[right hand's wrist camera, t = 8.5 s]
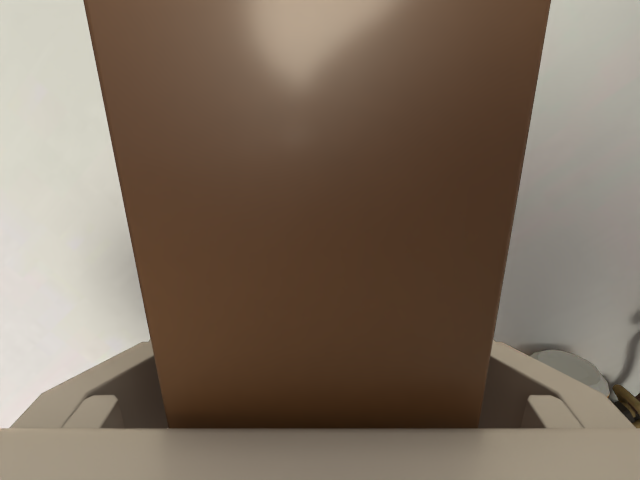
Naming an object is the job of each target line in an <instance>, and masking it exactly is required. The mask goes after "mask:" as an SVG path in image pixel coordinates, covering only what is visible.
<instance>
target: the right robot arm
mask: <svg viewBox="0 0 640 480" xmlns="http://www.w3.org/2000/svg"><path fill="white" fill-rule="evenodd" d="M0 480H640V428H636V427H635V426H634V425H633V424H632V423H631V422H630V421H629V420H628V419H627V418H626V417H625V416H624V415H623V414H622V413H621V412H620V410H619V409H618V408H617V407H616V406H615V405H614V404H613V403H612V402H611V401H610V400H609V399H608V398H607V397H606V396H605V395H604V394H603V393H601V392H599V391H597V390H595V389H593V388H591V387H589V386H587V385H585V384H583V383H581V382H579V381H577V380H575V379H573V378H571V377H569V376H568V375H566V374H564V373H562V372H560V371H558V370H556V369H554V368H552V367H550V366H548V365H546V364H544V363H542V362H540V361H538V360H536V359H534V358H532V357H530V356H528V355H526V354H524V353H522V352H520V351H518V350H516V349H514V348H513V347H511V346H509V345H507V344H505V343H503V342H495V340H494V339H493V343H492V349H491V355H490V360H489V366H488V372H487V378H486V384H485V390H484V396H483V402H482V407H481V413H480V419H479V425H478V428H168V424H167V419H166V414H165V409H164V404H163V399H162V393H161V388H160V383H159V378H158V373H157V368H156V363H155V358H154V353H153V348H152V343H151V339H150V340H149V342H141V343H139V344H137V345H135V346H133V347H132V348H130V349H128V350H126V351H124V352H122V353H120V354H118V355H116V356H114V357H112V358H110V359H108V360H106V361H104V362H102V363H100V364H98V365H96V366H94V367H92V368H91V369H89V370H87V371H85V372H83V373H81V374H79V375H77V376H75V377H73V378H71V379H69V380H67V381H65V382H63V383H61V384H59V385H57V386H55V387H53V388H51V389H50V390H48V391H46V392H44V393H42V394H41V395H40V396H39V397H38V398H37V399H36V400H35V401H34V402H33V403H32V404H31V405H30V407H29V408H28V409H27V410H26V411H25V412H24V413H23V414H22V415H21V416H20V417H19V418H18V419H17V420H16V422H15V423H14V424H13V425H12V426H11V427H10V428H0Z"/></svg>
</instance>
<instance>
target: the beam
mask: <svg viewBox="0 0 640 480" xmlns="http://www.w3.org/2000/svg"><path fill="white" fill-rule="evenodd" d="M550 3H551V0H84V5H85V10H86V15H87V20H88V26H89V31H90V36H91V41H92V46H93V51H94V56H95V61H96V66H97V71H98V76H99V81H100V86H101V91H102V96H103V101H104V106H105V111H106V116H107V121H108V126H109V131H110V136H111V141H112V146H113V152H114V157H115V162H116V167H117V172H118V177H119V182H120V187H121V192H122V197H123V202H124V207H125V212H126V217H127V222H128V227H129V232H130V237H131V242H132V247H133V252H134V257H135V262H136V267H137V272H138V278H139V283H140V288H141V293H142V298H143V303H144V308H145V313H146V318H147V323H148V328H149V333H150V338H151V343H152V348H153V353H154V358H155V363H156V368H157V373H158V378H159V383H160V388H161V393H162V399H163V404H164V409H165V414H166V419H167V424H168V428H478V425H479V419H480V413H481V407H482V402H483V396H484V390H485V384H486V378H487V372H488V366H489V360H490V355H491V349H492V343H493V337H494V331H495V325H496V319H497V314H498V308H499V302H500V296H501V290H502V284H503V278H504V273H505V267H506V261H507V255H508V249H509V243H510V237H511V231H512V226H513V220H514V214H515V208H516V202H517V196H518V190H519V185H520V179H521V173H522V167H523V161H524V155H525V149H526V144H527V138H528V132H529V126H530V120H531V114H532V108H533V102H534V97H535V91H536V85H537V79H538V73H539V67H540V61H541V56H542V50H543V44H544V38H545V32H546V26H547V20H548V15H549V9H550Z"/></svg>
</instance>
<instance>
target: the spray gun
mask: <svg viewBox="0 0 640 480" xmlns="http://www.w3.org/2000/svg"><path fill="white" fill-rule="evenodd" d="M530 357H532V358H534V359H536V360H538V361H540V362H542V363H544V364H546V365H548V366H550V367H552V368H554V369H556V370H558V371H560V372H562V373H564V374H566V375H568V376H569V377H571V378H573V379H575V380H577V381H579V382H581V383H583V384H585V385H587V386H589V387H591V388H593V389H595V390H597V391H599V392H601V393H603V394H604V395H605V396H606V397H607V398H608V397H609V394H610V392H609V387H608V383H607V381H606V380H605V379H604V377H603V376H602V375H601V374H600V372H599V371H598V369H597V368H596V367H595V366H594V365H592V364H591V363H590V362H588V361H587V360H585V359H583V358H581V357H579V356H577V355H575V354H571V353H568V352H565V351H560V350H545V351H540V352H534V353H533V354H532V355H530ZM613 390H614V392H615V394H616V396H617V398H618V400H619V401H618V402H616V403H614V405H615V406H616V407H617V408H618V409H619V410H620V412H621V413H622V414H623V415H624V416H625V417H626V418H627V419H628V420H629V421H630V422H631V423H632V424H633V425H634V426H635V427H636V428H640V393H639V394H638V395H637V396H636V397H634V396H633V395H632V394H631V393H630V392H628V391H627V390H626V389H625V388H624V387H622V386H621V385H619V384H616V385H614V386H613ZM637 413H639V414H637Z"/></svg>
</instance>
